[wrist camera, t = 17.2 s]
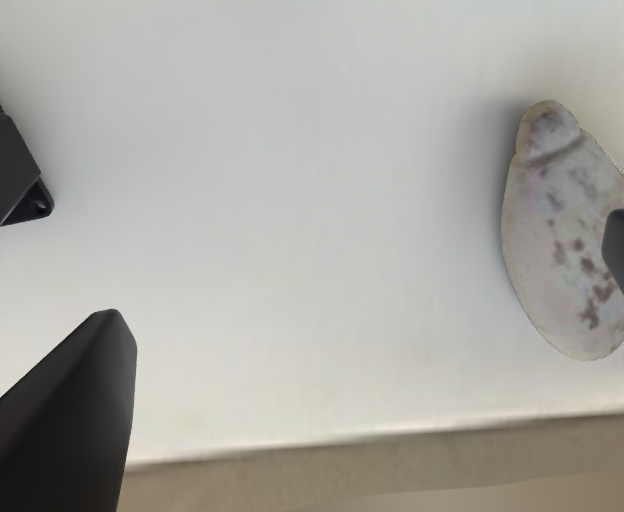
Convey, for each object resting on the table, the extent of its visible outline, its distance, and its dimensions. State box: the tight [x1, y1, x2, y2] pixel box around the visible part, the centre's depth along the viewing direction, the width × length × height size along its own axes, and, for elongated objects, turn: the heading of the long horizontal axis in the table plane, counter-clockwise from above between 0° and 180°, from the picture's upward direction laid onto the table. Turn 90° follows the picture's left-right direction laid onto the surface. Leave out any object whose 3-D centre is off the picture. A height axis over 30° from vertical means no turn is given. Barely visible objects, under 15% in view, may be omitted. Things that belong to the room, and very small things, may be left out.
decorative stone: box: [501, 100, 624, 361], centre depth 24 cm, size 6×16×3 cm, turn 28°
